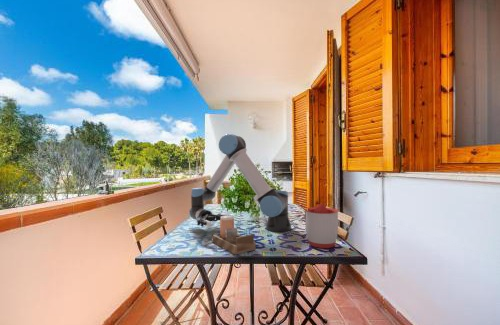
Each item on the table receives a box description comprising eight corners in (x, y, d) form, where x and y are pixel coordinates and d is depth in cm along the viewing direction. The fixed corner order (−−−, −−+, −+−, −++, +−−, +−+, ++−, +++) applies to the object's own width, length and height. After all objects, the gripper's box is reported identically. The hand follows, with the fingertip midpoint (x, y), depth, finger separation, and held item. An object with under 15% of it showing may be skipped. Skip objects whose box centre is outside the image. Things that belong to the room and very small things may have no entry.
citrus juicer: (306, 238, 134) (306, 200, 134) (341, 242, 126) (340, 202, 126) (297, 246, 120) (297, 204, 120) (335, 252, 112) (335, 207, 112)
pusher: (225, 243, 123) (225, 229, 123) (236, 241, 126) (235, 227, 126) (226, 243, 122) (226, 229, 122) (237, 241, 125) (237, 227, 125)
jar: (234, 238, 131) (233, 215, 131) (234, 242, 124) (234, 218, 124) (220, 238, 130) (220, 215, 130) (219, 243, 123) (219, 218, 123)
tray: (212, 242, 129) (212, 228, 129) (231, 238, 135) (231, 225, 135) (235, 254, 110) (235, 238, 110) (255, 249, 117) (255, 234, 117)
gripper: (223, 219, 156) (242, 226, 138) (183, 225, 141) (199, 234, 124) (223, 207, 156) (242, 212, 138) (183, 212, 141) (199, 218, 124)
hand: (222, 222), depth 131 cm, fingers open, 13 cm apart
